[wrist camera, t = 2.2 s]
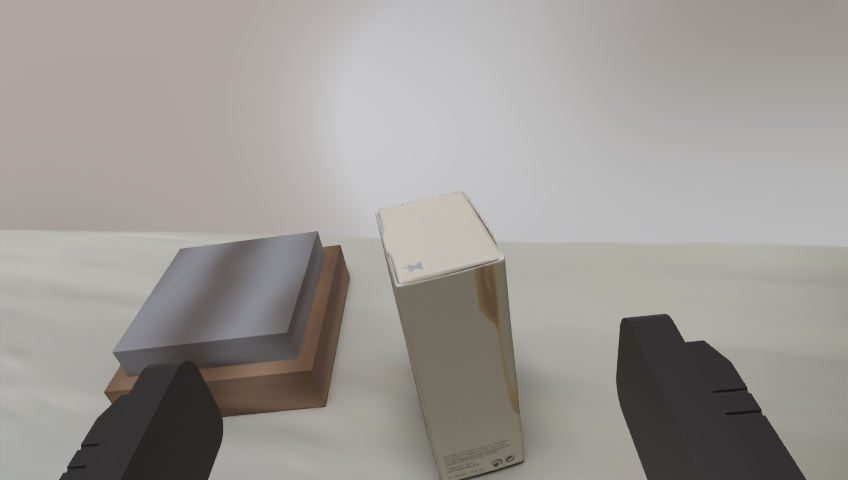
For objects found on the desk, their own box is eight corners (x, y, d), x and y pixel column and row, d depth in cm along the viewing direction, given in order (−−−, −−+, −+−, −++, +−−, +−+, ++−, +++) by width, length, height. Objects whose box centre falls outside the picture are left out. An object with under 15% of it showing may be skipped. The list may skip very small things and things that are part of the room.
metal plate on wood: (349, 277, 41) (333, 222, 38) (325, 406, 31) (301, 343, 28) (198, 295, 42) (172, 242, 39) (128, 425, 32) (86, 367, 29)
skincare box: (527, 463, 26) (513, 262, 19) (441, 488, 26) (395, 291, 19) (487, 368, 32) (465, 184, 25) (415, 387, 31) (372, 206, 24)
